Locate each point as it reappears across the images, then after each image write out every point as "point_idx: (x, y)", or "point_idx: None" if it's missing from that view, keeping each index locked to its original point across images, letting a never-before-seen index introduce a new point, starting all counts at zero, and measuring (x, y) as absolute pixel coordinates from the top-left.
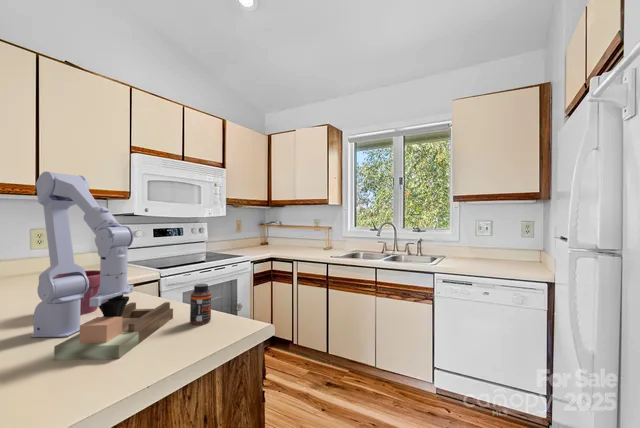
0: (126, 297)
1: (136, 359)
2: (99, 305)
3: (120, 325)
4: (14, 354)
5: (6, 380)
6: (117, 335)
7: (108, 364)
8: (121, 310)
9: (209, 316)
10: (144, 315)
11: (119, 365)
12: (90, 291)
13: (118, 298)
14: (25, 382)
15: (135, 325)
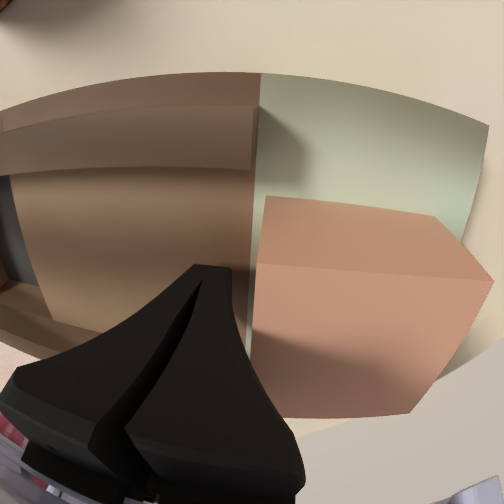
0: (33, 428)
1: (462, 37)
2: (490, 481)
3: (294, 224)
4: (296, 430)
5: (459, 366)
6: (324, 202)
7: (487, 143)
8: (151, 336)
9: None
10: (34, 160)
11: (500, 96)
12: (13, 430)
13: (114, 480)
14: (493, 325)
15: (239, 106)
